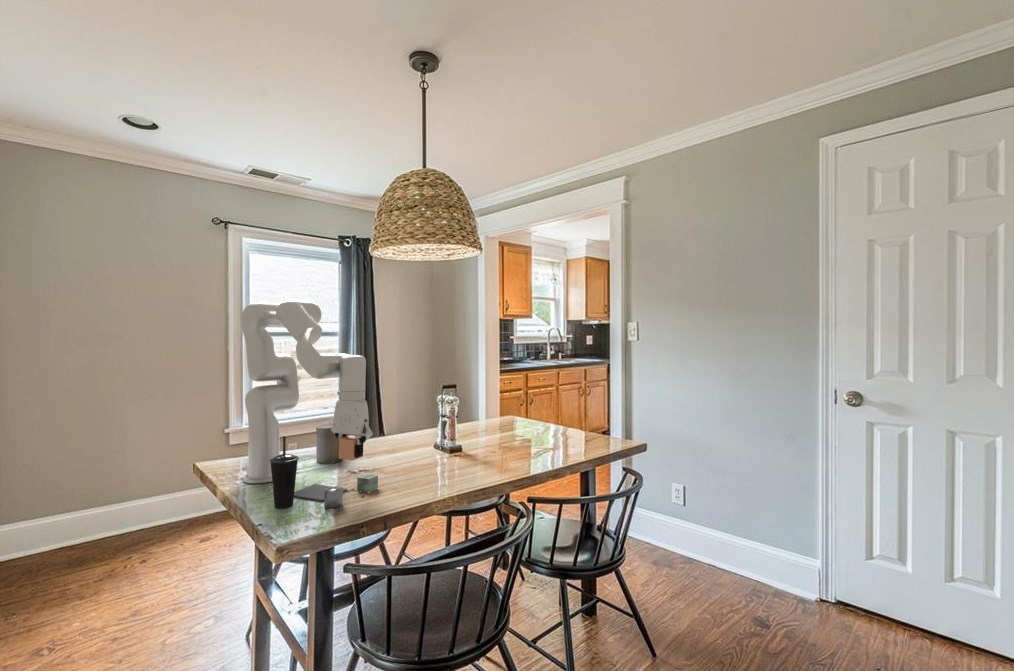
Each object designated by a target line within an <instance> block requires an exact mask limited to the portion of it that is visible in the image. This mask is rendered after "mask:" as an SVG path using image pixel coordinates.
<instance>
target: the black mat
mask: <svg viewBox="0 0 1014 671" xmlns="http://www.w3.org/2000/svg"><path fill="white" fill-rule="evenodd" d="M329 487H333V486H330V485H324V484H317V483H314V484H311V485H308V486H307V487H303V488H301V489H299V490H297V491H294V498H297V499H303V500H307V501H313V502H320V503H323V502H324V490H325V489H326V488H329ZM342 488H343V493H345V491H346V492H347V491H348V488H344V487H342Z"/></svg>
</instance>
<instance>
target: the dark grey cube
mask: <svg viewBox="0 0 1014 671" xmlns="http://www.w3.org/2000/svg"><path fill="white" fill-rule="evenodd" d="M343 488H344V487H342V486H338V485H337V486H332V487H329V488H326V489H325V490H324V501H323V502H324V509H325V510H328V509H333V510H338V509H341V508H342V507H343V505H344V504H343V503H344V502H343V501H344V496H343V495H344V492H343ZM341 506H342V507H341ZM340 507H341V508H340ZM337 508H338V509H337Z"/></svg>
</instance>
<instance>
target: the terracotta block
mask: <svg viewBox="0 0 1014 671" xmlns="http://www.w3.org/2000/svg"><path fill="white" fill-rule="evenodd" d="M355 445H356V439H355V435H347V436H346V437H343V438H340V439H339V459H343V460H346V461H351V462H352V461H355V460H357V459H360V458H363V457H364V455H363V456H361V457H358V458H355Z"/></svg>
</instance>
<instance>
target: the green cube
mask: <svg viewBox="0 0 1014 671" xmlns="http://www.w3.org/2000/svg"><path fill="white" fill-rule="evenodd" d="M356 479H357V480H356V481H357V482H356V485H357V487H356V492H357V491H361V492H360V493H364V492H371V491H373V490H375V489H377V488H378V489H379V474H372V473H365V474H362V475H360V476H357V478H356ZM378 489H377V490H378ZM375 491H376V490H375ZM373 492H374V491H373ZM371 493H372V492H371Z"/></svg>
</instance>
